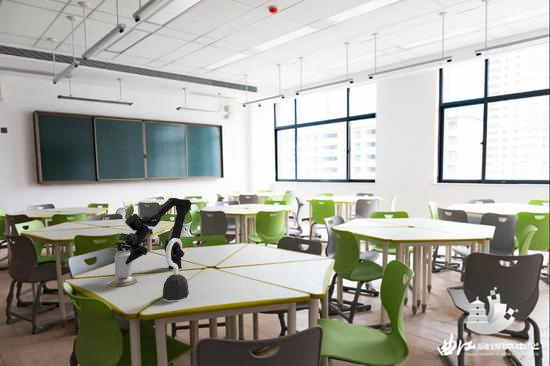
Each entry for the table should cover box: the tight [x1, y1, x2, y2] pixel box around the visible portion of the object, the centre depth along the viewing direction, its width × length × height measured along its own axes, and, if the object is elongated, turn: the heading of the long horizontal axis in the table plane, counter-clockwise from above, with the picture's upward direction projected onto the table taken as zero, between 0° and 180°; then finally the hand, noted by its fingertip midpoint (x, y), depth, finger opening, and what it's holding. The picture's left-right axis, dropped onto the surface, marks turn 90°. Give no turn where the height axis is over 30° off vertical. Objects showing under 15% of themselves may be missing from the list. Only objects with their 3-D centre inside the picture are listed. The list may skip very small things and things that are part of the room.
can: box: [114, 250, 133, 278], centre depth 169 cm, size 8×8×12 cm
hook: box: [162, 238, 190, 303], centre depth 148 cm, size 11×11×25 cm
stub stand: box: [109, 275, 138, 288], centre depth 169 cm, size 12×12×2 cm
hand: (120, 263), depth 168 cm, fingers closed on can, 7 cm apart
